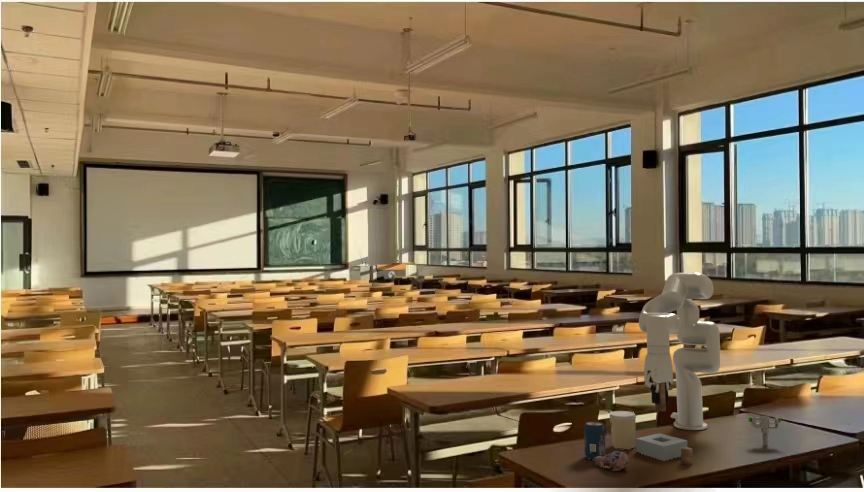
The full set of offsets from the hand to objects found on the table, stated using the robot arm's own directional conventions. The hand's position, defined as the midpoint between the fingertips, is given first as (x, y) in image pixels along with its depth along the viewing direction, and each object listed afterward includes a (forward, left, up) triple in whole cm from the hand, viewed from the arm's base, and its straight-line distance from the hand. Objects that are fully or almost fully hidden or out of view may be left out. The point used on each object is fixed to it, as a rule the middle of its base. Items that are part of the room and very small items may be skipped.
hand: (660, 402), depth 229 cm
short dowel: (+12, -2, -18) cm, 22 cm away
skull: (+1, -25, -18) cm, 31 cm away
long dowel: (0, 0, -3) cm, 3 cm away
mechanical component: (+14, +38, -18) cm, 45 cm away
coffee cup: (-14, -4, -18) cm, 23 cm away
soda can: (-10, -22, -18) cm, 30 cm away
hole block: (0, 0, -18) cm, 18 cm away
